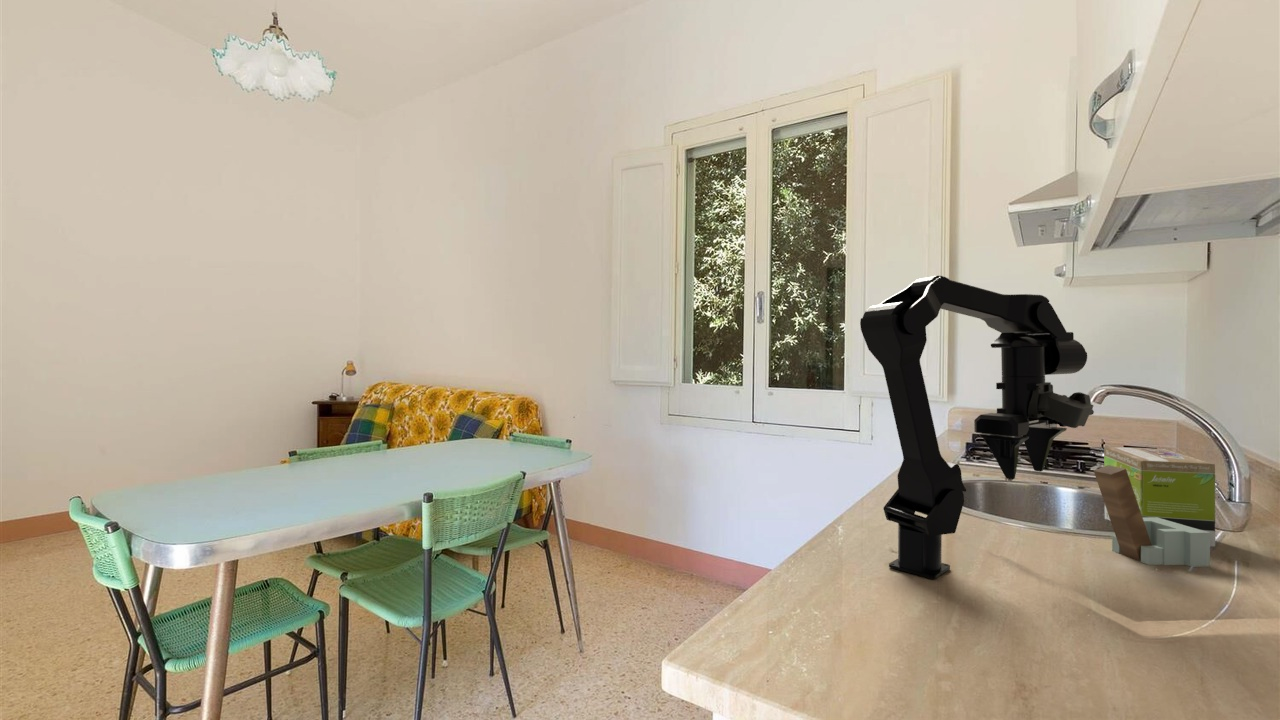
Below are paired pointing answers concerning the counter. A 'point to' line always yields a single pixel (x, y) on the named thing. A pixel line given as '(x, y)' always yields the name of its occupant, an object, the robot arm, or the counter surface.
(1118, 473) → the brown wooden post
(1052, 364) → the robot arm
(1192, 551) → the bracket
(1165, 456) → the tea box
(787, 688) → the counter surface
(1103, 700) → the counter surface
